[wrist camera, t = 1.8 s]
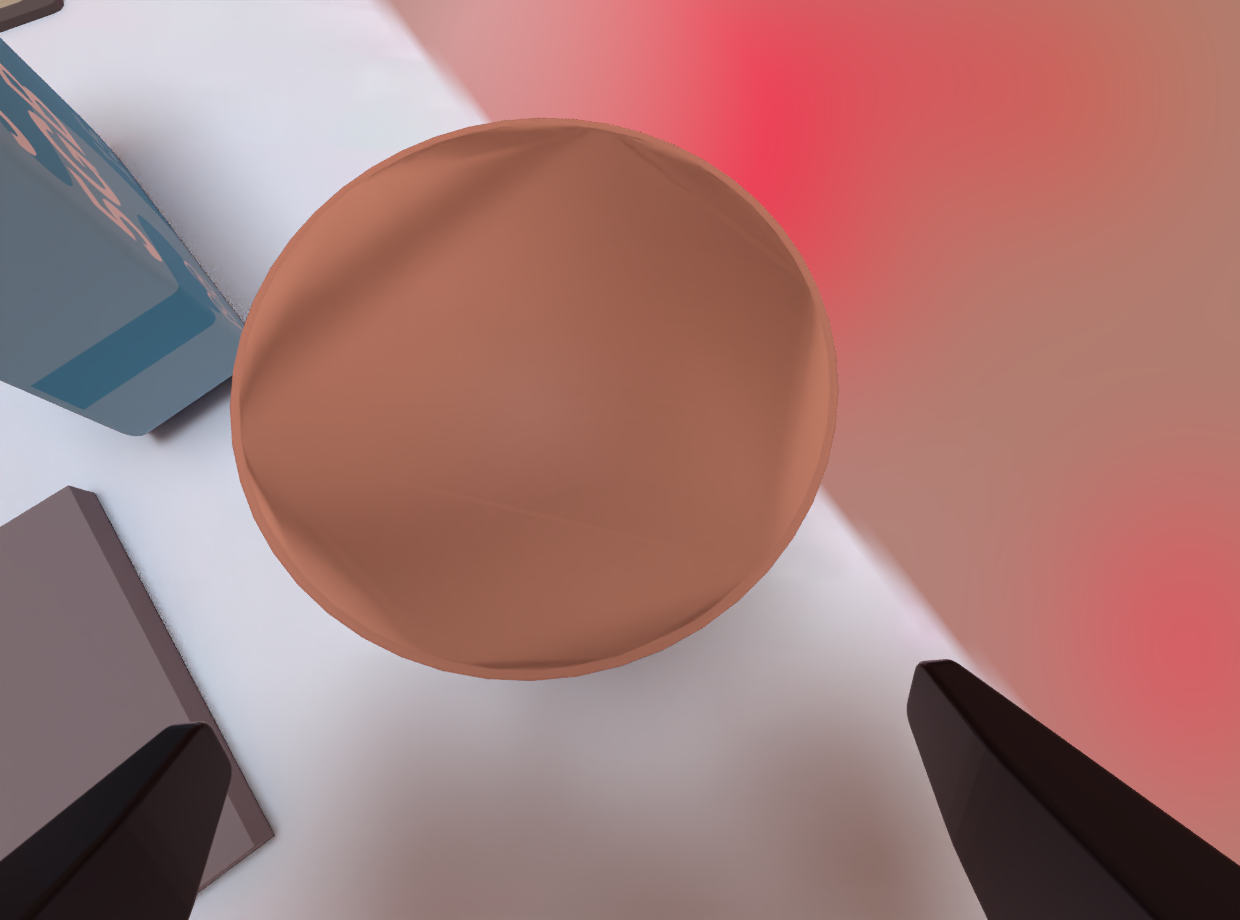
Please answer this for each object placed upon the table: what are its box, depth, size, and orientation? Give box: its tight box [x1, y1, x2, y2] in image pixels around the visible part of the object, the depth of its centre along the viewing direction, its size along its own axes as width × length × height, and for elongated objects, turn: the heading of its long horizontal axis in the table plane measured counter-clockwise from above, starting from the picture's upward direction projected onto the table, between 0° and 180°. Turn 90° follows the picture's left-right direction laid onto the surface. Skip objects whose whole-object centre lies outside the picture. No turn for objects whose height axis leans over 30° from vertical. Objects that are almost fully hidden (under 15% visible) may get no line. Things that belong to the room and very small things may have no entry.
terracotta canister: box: [230, 118, 838, 681], centre depth 12 cm, size 7×7×9 cm
